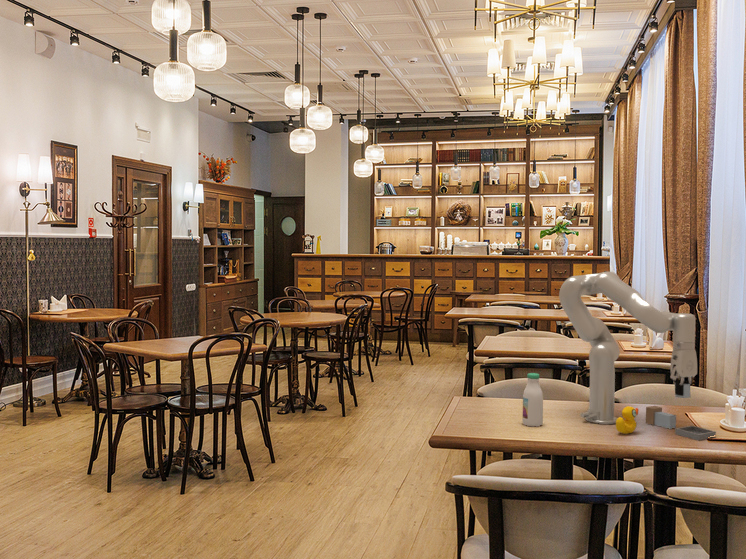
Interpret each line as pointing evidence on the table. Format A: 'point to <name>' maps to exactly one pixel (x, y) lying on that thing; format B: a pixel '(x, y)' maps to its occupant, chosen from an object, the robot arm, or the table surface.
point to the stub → (685, 392)
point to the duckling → (627, 420)
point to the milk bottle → (533, 402)
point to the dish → (694, 432)
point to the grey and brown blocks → (660, 417)
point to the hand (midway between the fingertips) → (682, 394)
